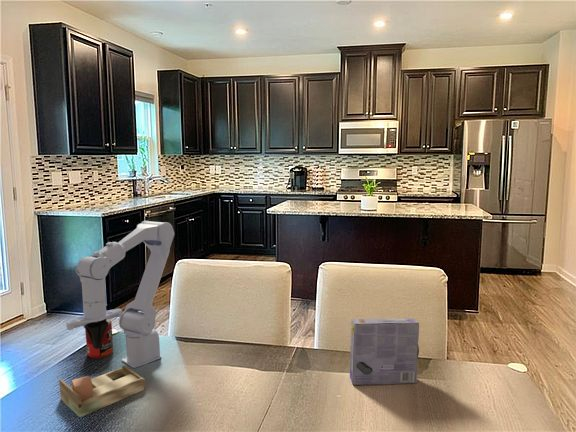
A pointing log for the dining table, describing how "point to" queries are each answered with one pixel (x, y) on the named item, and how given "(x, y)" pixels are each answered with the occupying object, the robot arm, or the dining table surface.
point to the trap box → (103, 390)
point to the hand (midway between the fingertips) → (97, 347)
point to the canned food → (105, 346)
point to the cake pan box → (384, 351)
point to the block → (83, 387)
